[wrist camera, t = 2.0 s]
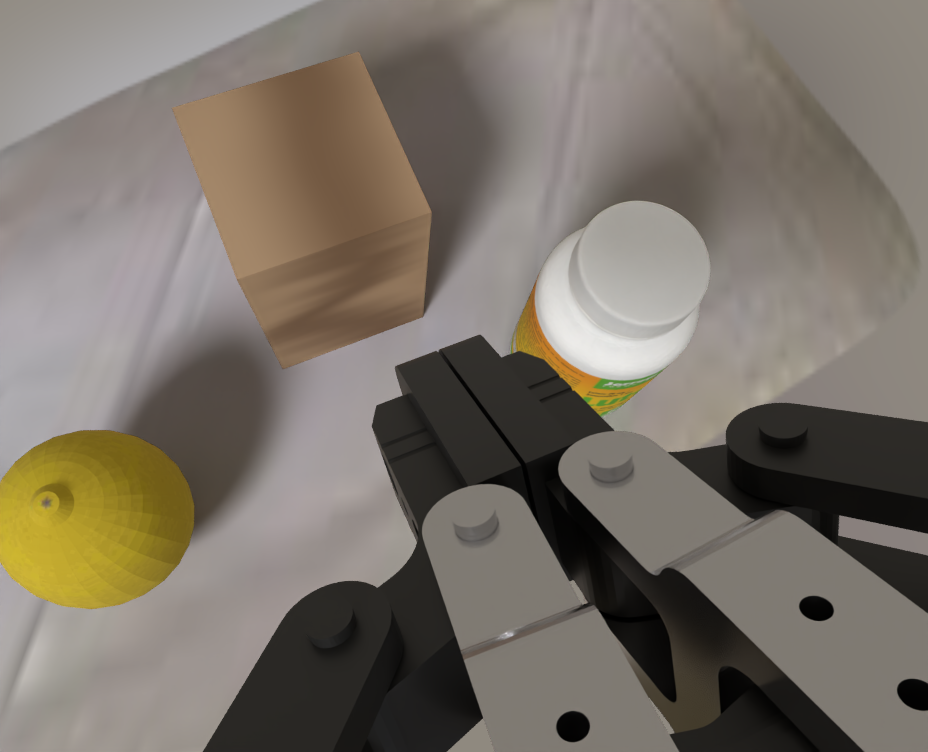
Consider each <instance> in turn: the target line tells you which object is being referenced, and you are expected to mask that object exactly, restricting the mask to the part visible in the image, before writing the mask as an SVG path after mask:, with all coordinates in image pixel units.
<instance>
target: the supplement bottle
mask: <svg viewBox="0 0 928 752" xmlns="http://www.w3.org/2000/svg"><path fill="white" fill-rule="evenodd" d="M710 270H711V266H710V259H709V254H708V251H707V248H706V245H705V243H704V241H703V239H702V237H701V236H700V234H699V233H698V231H697V230H696V229H695V227H694V226H693V225H692V224H691V223H690V222H689V221H688V220H687V219H686V218H684V217H683V216H682V215H680V214H679V213H677V212H676V211H674V210H672V209H670V208H668V207H665V206H663V205H661V204H657V203H653V202H648V201H628V202H622V203H619V204H616V205H613V206H611V207H608V208H607V209H605V210H603V211H602V212H600V213H599V214H598V215H597V216H595V217H594V218H593V219H592V220H591V221H590V222H589V224H588V225H587V227H584V228H582V229H580V230H577V231H576V232H574V233H572V234H570V235H569V236H568V237H566V238H565V239H564V240H563V241H561V242H560V243H559V244H558V245H557V246H556V247H555V248H554V250H553V251H552V252H551V253H550V255H549V256H548V258H547V260H546V261H545V263H544V265H543V267H542V269H541V271H540V273H539V275H538V277H537V280H536V282H535V285H534V287H533V290H532V292H531V294H530V296H529V299H528V301H527V303H526V306H525V308H524V310H523V312H522V315H521V317H520V319H519V321H518V324H517V326H516V328H515V331H514V334H513V337H512V340H511V345H510V354H512V353H515V352H517V351H522V352H525V353H527V354H530V355H533V356H536V357H538V358H541V359H544V360H545V361H546V362H547V363H548V364H549V365H550V366H551V367H552V368H553V369H554V370H555V371H556V372H557V373H558V374H559V376H560V378H563V379H564V380H565V381H566V382H567V383H568V384H569V385H570V386H571V388H572V390H573V391H574V390H575V391H576V392H577V393H578V394H579V395H580V396H581V397H582V398H583V399H584V400H585V401H586V402H587V403H588V404H589V405H590V406H591V407H592V408H593V409H594V410H595V411H596V412H597V413H598V414H599V415H600V416H601V417H604V416H606V415H608V414H610V413H612V412H614V411H615V410H617V409H618V408H619V407H621V406H622V405H623V404H624V403H626V402H627V401H628V400H629V399H630V398H631V397H633V396H634V395H635V394H636V393H637V392H638V391H640V390H641V389H642V388H643V387H645V386H646V385H647V384H648V383H649V382H650V381H651V380H652V379H654V378H655V377H656V376H657V375H658V374H659V373H660V372H662V371H663V370H664V369H665V368H666V367H668V366H669V365H670V364H671V363H672V362H673V361H674V360H675V359H676V358H677V357H678V356H679V355H680V354H681V353H682V352H683V350H684V349H685V348H686V346H687V345H688V343H689V342H690V340H691V338H692V336H693V334H694V332H695V329H696V326H697V323H698V319H699V312H700V302H701V301H702V299H703V297H704V295H705V293H706V291H707V288H708V285H709V281H710Z"/></svg>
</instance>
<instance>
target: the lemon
mask: <svg viewBox="0 0 928 752" xmlns="http://www.w3.org/2000/svg"><path fill="white" fill-rule="evenodd" d="M193 527H194V502H193V498H192V495H191V491H190V487H189V485H188V483H187V481H186V479H185V477H184V476H183V474H182V472H181V471H180V469H179V467H178V466H177V465H176V464H175V463H174V462H173V461H172V460H171V459H170V458H169V457H168V456H167V455H166V454H165V453H164V452H163V451H162V450H160V449H159V448H157V447H156V446H154V445H152V444H150V443H148V442H146V441H144V440H142V439H140V438H138V437H136V436H132V435H127V434H123V433H119V432H115V431H110V430H83V431H77V432H73V433H69V434H65V435H61V436H57V437H54V438H52V439H50V440H48V441H46V442H44V443H42V444H40V445H38V446H36V447H34V448H32V449H31V450H30V451H28V452H27V453H26V454H25V455H23V456H22V457H21V458H20V459H18V460H17V461H16V462H15V463H14V464H13V466H12V467H11V468H10V469H9V471H8V472H7V473H6V474H5V476H4V477H3V478H2V480H1V482H0V563H1V564H2V565H3V567H4V568H5V570H6V571H7V572H8V574H9V575H10V576H11V577H12V579H13V580H15V581H16V582H17V583H19V584H20V585H21V586H23V587H24V588H25V589H27V590H28V591H29V592H31V593H32V594H33V595H35V596H37V597H40V598H42V599H45V600H47V601H50V602H53V603H55V604H58V605H61V606H66V607H76V608H86V609H96V608H102V607H109V606H115V605H120V604H123V603H125V602H128V601H130V600H133V599H135V598H137V597H140V596H142V595H144V594H146V593H147V592H149V591H150V590H151V589H153V588H154V587H156V586H157V585H158V584H160V583H161V582H163V581H164V580H165V579H166V578H167V577H168V576H169V574H170V573H171V572H172V571H173V570H174V569H175V568H176V567H177V565H178V564H179V563H180V561H181V559H182V557H183V555H184V553H185V551H186V549H187V548H188V546H189V543H190V539H191V535H192V531H193Z"/></svg>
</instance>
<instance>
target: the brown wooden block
mask: <svg viewBox="0 0 928 752" xmlns="http://www.w3.org/2000/svg"><path fill="white" fill-rule="evenodd" d="M172 109H173V112H174V115H175V117H176V120H177V123H178V125H179V128H180V131H181V133H182V136H183V138H184V141H185V144H186V146H187V149H188V152H189V154H190V157H191V160H192V162H193V165H194V167H195V170H196V173H197V175H198V178H199V181H200V183H201V186H202V189H203V191H204V194H205V196H206V199H207V202H208V204H209V207H210V210H211V212H212V215H213V218H214V220H215V223H216V226H217V228H218V231H219V233H220V236H221V239H222V241H223V244H224V247H225V249H226V252H227V255H228V257H229V260H230V262H231V265H232V268H233V270H234V273H235V276H236V278H237V281H238V283H239V284H240V286H241V288H242V290H243V292H244V294H245V296H246V298H247V300H248V302H249V304H250V306H251V308H252V310H253V312H254V314H255V316H256V318H257V320H258V322H259V324H260V326H261V327H262V329H263V331H264V333H265V335H266V337H267V339H268V341H269V343H270V345H271V347H272V349H273V351H274V353H275V355H276V357H277V359H278V361H279V363H280V365H281V367H282V368H283V369H285V368H287V367H290V366H293V365H295V364H298V363H301V362H304V361H306V360H309V359H312V358H314V357H317V356H320V355H322V354H325V353H328V352H330V351H333V350H336V349H338V348H341V347H344V346H346V345H349V344H352V343H354V342H357V341H360V340H362V339H365V338H368V337H371V336H373V335H376V334H379V333H381V332H384V331H387V330H389V329H392V328H395V327H397V326H400V325H403V324H405V323H408V322H411V321H413V320H416V319H419V318H421V317H423V311H424V299H425V287H426V275H427V263H428V251H429V239H430V227H431V215H432V211H431V209H430V207H429V205H428V203H427V200H426V198H425V196H424V194H423V192H422V189H421V187H420V185H419V183H418V181H417V178H416V176H415V174H414V172H413V170H412V168H411V165H410V163H409V161H408V159H407V157H406V154H405V152H404V150H403V148H402V146H401V143H400V141H399V139H398V137H397V135H396V132H395V130H394V128H393V126H392V124H391V121H390V119H389V117H388V115H387V113H386V110H385V108H384V106H383V104H382V102H381V99H380V97H379V95H378V93H377V91H376V88H375V86H374V84H373V82H372V80H371V77H370V75H369V73H368V71H367V69H366V66H365V64H364V62H363V60H362V58H361V55H360V53H359V52H356V53H353V54H349V55H346V56H343V57H339V58H336V59H333V60H329V61H326V62H323V63H319V64H316V65H313V66H309V67H306V68H303V69H300V70H296V71H293V72H290V73H286V74H283V75H280V76H276V77H273V78H270V79H266V80H263V81H260V82H256V83H253V84H250V85H246V86H243V87H240V88H237V89H233V90H230V91H227V92H223V93H220V94H217V95H213V96H210V97H207V98H203V99H200V100H197V101H193V102H190V103H187V104H183V105H180V106H177V107H173V108H172Z"/></svg>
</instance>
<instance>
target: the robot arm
mask: <svg viewBox="0 0 928 752" xmlns="http://www.w3.org/2000/svg"><path fill="white" fill-rule="evenodd" d="M395 371H396V375H397V379H398V382H399V385H400V388H401V391H402V395H403V396H400V397H398V398H395V399H392V400H390V401H387V402H385V403H382V404H379V405H377V406H376V410H375V415H374V419H373V423H372V428H373V431H374V434H375V437H376V440H377V443H378V445H379V448H380V451H381V454H382V457H383V460H384V463H385V465H386V468H387V471H388V474H389V477H390V480H391V483H392V485H393V488H394V491H395V494H396V497H397V499H398V501H399V504H400V506H401V508H402V510H403V512H404V515H405V517H406V519H407V521H408V523H409V526H410V528H411V530H412V532H413V534H414V536H415V539H416V541H417V544H416V547H415V550H414V552H413V554H412V556H411V557H410V559H409V560H408V561H407V563H406V564H405V565H404V566H403V567H402V568H401V569H400V570H399V571H398V572H397V573H396V574H395V575H394V576H393V577H391V578H390V579H389V580H387V581H386V582H385V583H383V584H382V585H381V586H380V587H378V588H376V587H375V586H373V585H371V584H368V583H365V582H359V581H344V582H337V583H333V584H329V585H327V586H324V587H321V588H319V589H317V590H315V591H313V592H311V593H310V594H308V595H307V596H305V597H304V598H302V599H301V600H300V601H299V602H298V603H297V604H295V605H294V606H293V607H292V608H291V610H290V611H289V612H288V613H287V614H286V616H285V617H284V619H283V620H282V621H281V623H280V625H279V626H278V628H277V630H276V631H275V633H274V635H273V636H272V638H271V640H270V641H269V643H268V645H267V646H266V648H265V650H264V651H263V653H262V655H261V656H260V658H259V660H258V661H257V663H256V665H255V666H254V668H253V670H252V671H251V673H250V674H249V676H248V678H247V679H246V681H245V683H244V684H243V686H242V688H241V689H240V691H239V693H238V694H237V696H236V698H235V699H234V701H233V703H232V704H231V706H230V708H229V709H228V711H227V713H226V714H225V716H224V718H223V719H222V721H221V723H220V724H219V726H218V728H217V729H216V731H215V733H214V734H213V736H212V738H211V739H210V741H209V743H208V744H207V746H206V747H205V749H204V751H203V752H447V751H448V750H449V749H450V748H451V747H452V746H453V745H454V744H455V743H456V742H458V741H459V740H460V739H461V738H462V737H463V736H464V735H465V734H466V733H467V732H469V730H471V729H472V728H473V727H474V726H475V725H476V724H477V723H478V722H479V721H480V720H481V719H484V722H485V724H486V727H487V731H488V733H489V736H490V739H491V742H492V745H493V748H494V751H495V752H928V556H927V555H923V554H918V553H914V552H909V551H905V550H900V549H896V548H891V547H887V546H882V545H878V544H873V543H869V542H864V541H859V540H855V539H851V538H846V537H842V536H838V529H839V515H841V516H846V517H851V518H856V519H860V520H866V521H870V522H875V523H879V524H885V525H889V526H894V527H899V528H904V529H909V530H914V531H918V532H923V533H928V422H922V421H914V420H907V419H900V418H893V417H886V416H879V415H872V414H865V413H857V412H850V411H843V410H836V409H828V408H822V407H814V406H807V405H800V404H791V403H772V404H764V405H760V406H756V407H753V408H750V409H748V410H746V411H743V412H742V413H740V414H739V415H737V416H736V417H735V418H734V419H733V420H732V421H731V422H730V424H729V425H728V427H727V430H726V444H725V445H719V446H713V447H707V448H701V449H695V450H689V451H682V452H666V451H665V450H664V449H663V448H661V447H660V446H659V445H658V444H656V443H655V442H654V441H652V440H651V439H649V438H647V437H645V436H643V435H640V434H636V433H632V432H626V431H614V430H613V429H612V428H611V427H610V426H609V425H608V424H607V423H606V422H605V421H604V420H603V419H602V417H601V416H600V415H599V414H598V413H597V412H596V411H595V410H594V409H593V408H592V407H591V406H590V405H589V404H588V403H587V402H586V401H585V400H584V399H583V398H582V397H581V396H580V395H579V394H578V393H577V392H576V391H575V390H574V391H573V390H572V388H571V386H570V385H569V384H568V383H567V382H566V381H565V380H564V379H563V378H560V376H559V374H558V373H557V372H556V371H555V370H554V369H553V368H552V367H551V366H550V365H549V364H548V363H547V362H546V361H545V360H544V359H541V358H538V357H536V356H533V355H530V354H527V353H525V352H522V351H517V352H515V353H512V354H510V355H507V356H504V357H502V358H501V357H500V356H499V354H498V353H497V352H496V351H495V350H494V349H493V348H492V347H491V345H490V344H489V343H488V342H487V341H486V340H485V339H484V337H482V336H481V335H477V336H475V337H472V338H469V339H466V340H464V341H461V342H458V343H456V344H453V345H450V346H448V347H445V348H442V349H440V350H439V353H438V352H437V351H435V352H432V353H430V354H427V355H424V356H422V357H419V358H416V359H414V360H411V361H408V362H405V363H403V364H400V365H397V366H395ZM572 580H574V581H575V583H576V584H577V585H578V587H579V588H580V590H581V591H582V593H583V598H584V602H585V604H584V605H582V603H581V602H580V600H579V598H578V597H577V595H576V593H575V591H574V589H573V587H572V586H571V584H570V582H569V581H572ZM648 697H649V698H650V700H651V701H652V702H653V703H654V705H655V706H656V707H657V708H658V710H659V711H660V712H661V714H662V715H663V716H664V717H665V719H666V720H667V721H668V723H669V724H670V726H671V727H672V729H673V731H674V734H669V733H668V731H667V729H666V728H665V726H664V724H663V722H662V721H661V719H660V717H659V716H658V714H657V712H656V710H655V708H654V707H653V705H652V703H651V701H650V700H649V698H648Z"/></svg>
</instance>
